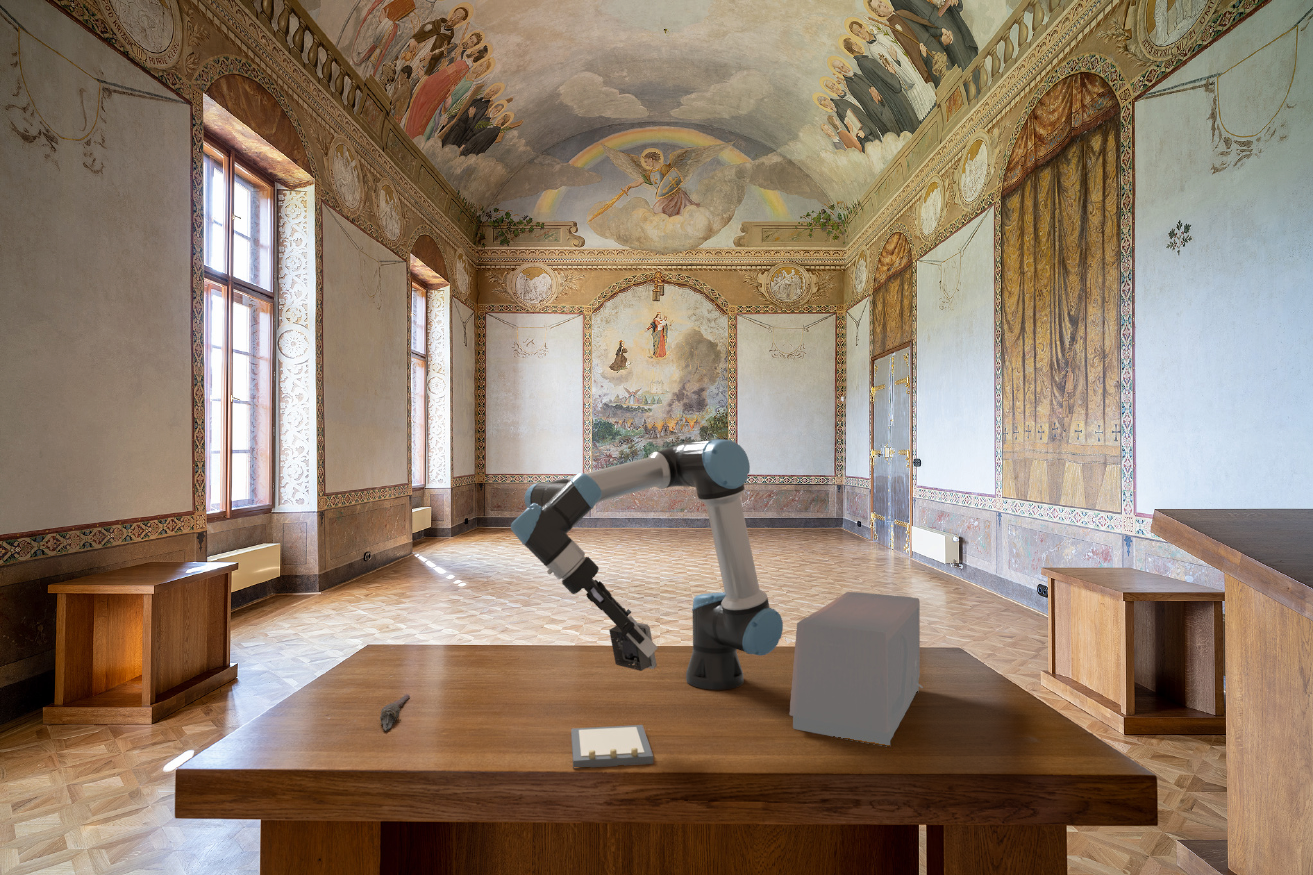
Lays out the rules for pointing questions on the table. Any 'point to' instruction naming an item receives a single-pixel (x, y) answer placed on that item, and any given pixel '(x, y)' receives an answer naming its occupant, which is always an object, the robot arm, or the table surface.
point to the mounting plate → (610, 746)
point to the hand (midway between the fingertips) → (649, 646)
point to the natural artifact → (391, 713)
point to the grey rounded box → (856, 666)
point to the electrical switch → (631, 649)
